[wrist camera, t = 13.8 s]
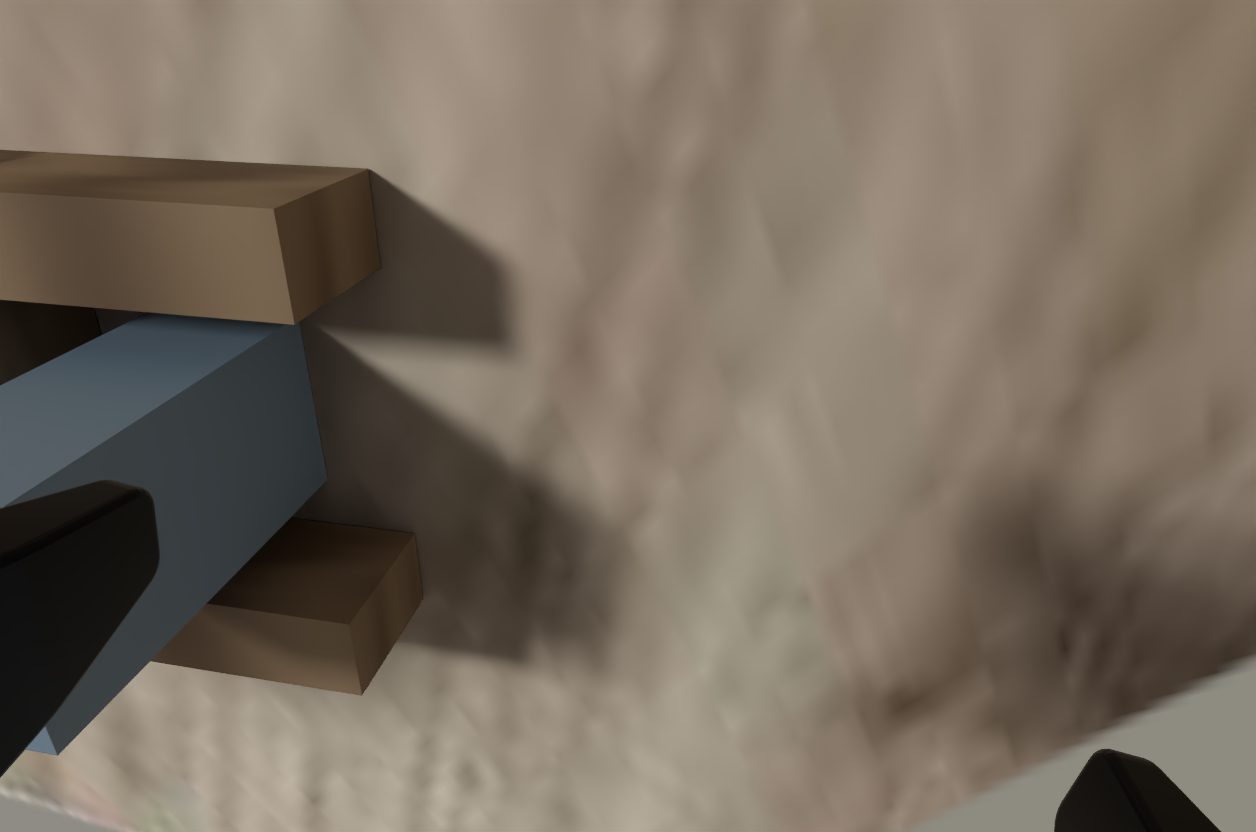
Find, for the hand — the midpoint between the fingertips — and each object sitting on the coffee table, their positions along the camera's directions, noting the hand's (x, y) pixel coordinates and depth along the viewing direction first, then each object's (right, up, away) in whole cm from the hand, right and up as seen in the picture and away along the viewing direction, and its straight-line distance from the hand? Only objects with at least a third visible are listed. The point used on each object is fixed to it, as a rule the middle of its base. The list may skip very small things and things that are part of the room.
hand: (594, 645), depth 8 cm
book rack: (-10, +3, +16) cm, 19 cm away
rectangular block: (-10, +3, +16) cm, 19 cm away
